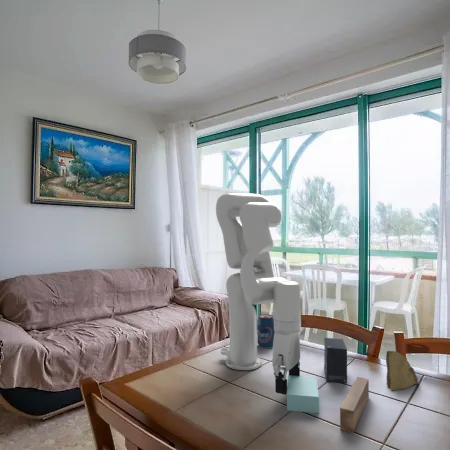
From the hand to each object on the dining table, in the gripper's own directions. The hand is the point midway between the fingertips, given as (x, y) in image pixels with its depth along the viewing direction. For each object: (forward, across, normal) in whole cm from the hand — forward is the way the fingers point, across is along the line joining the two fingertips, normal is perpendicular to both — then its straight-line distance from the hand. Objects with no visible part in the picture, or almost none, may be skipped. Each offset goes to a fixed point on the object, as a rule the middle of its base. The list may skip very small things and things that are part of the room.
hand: (288, 386), depth 98 cm
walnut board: (+2, 0, +18) cm, 18 cm away
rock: (+3, -23, +27) cm, 36 cm away
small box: (+3, -20, +8) cm, 22 cm away
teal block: (+3, +1, +4) cm, 5 cm away
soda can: (+2, -35, -23) cm, 42 cm away
